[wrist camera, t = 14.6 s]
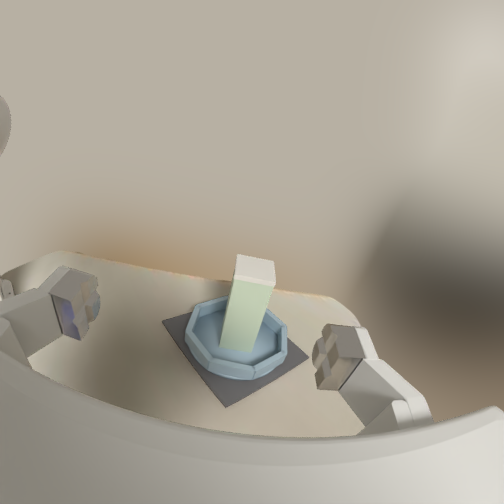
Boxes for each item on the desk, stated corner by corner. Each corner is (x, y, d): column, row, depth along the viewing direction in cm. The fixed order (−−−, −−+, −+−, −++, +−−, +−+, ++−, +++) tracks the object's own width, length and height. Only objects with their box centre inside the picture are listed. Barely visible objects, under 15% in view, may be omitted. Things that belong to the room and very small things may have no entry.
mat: (162, 322, 47) (162, 320, 47) (242, 297, 59) (242, 296, 59) (225, 407, 35) (226, 406, 35) (308, 358, 47) (309, 357, 47)
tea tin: (218, 347, 44) (234, 274, 37) (221, 324, 49) (237, 253, 42) (251, 353, 44) (275, 282, 37) (252, 330, 49) (273, 261, 42)
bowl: (170, 324, 47) (170, 311, 45) (243, 300, 58) (246, 289, 56) (225, 397, 36) (228, 386, 35) (300, 354, 47) (306, 342, 46)
